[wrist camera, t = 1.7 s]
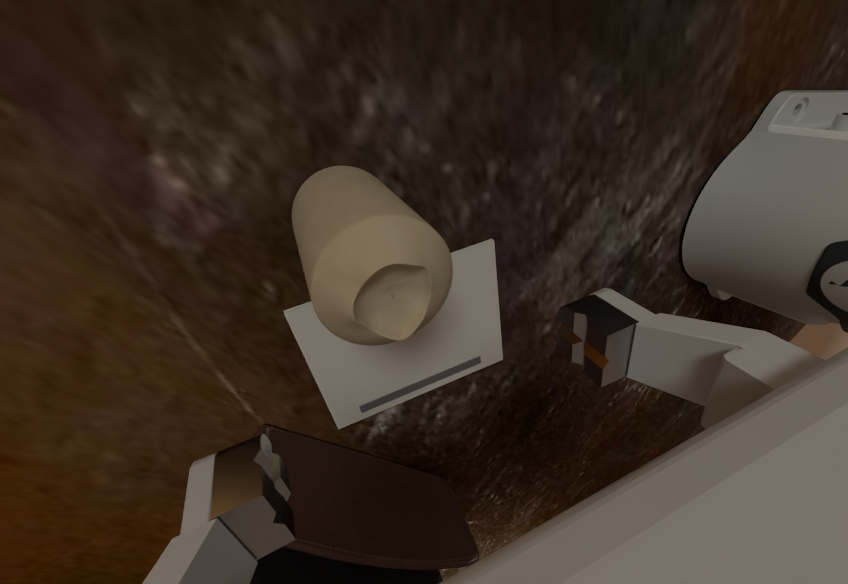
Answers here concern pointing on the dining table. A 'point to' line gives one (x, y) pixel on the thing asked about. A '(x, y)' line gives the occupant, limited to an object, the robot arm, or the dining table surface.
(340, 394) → the white rectangular plate
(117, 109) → the dining table surface
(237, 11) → the dining table surface
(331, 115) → the dining table surface
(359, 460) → the letter holder
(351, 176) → the candle
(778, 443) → the robot arm
